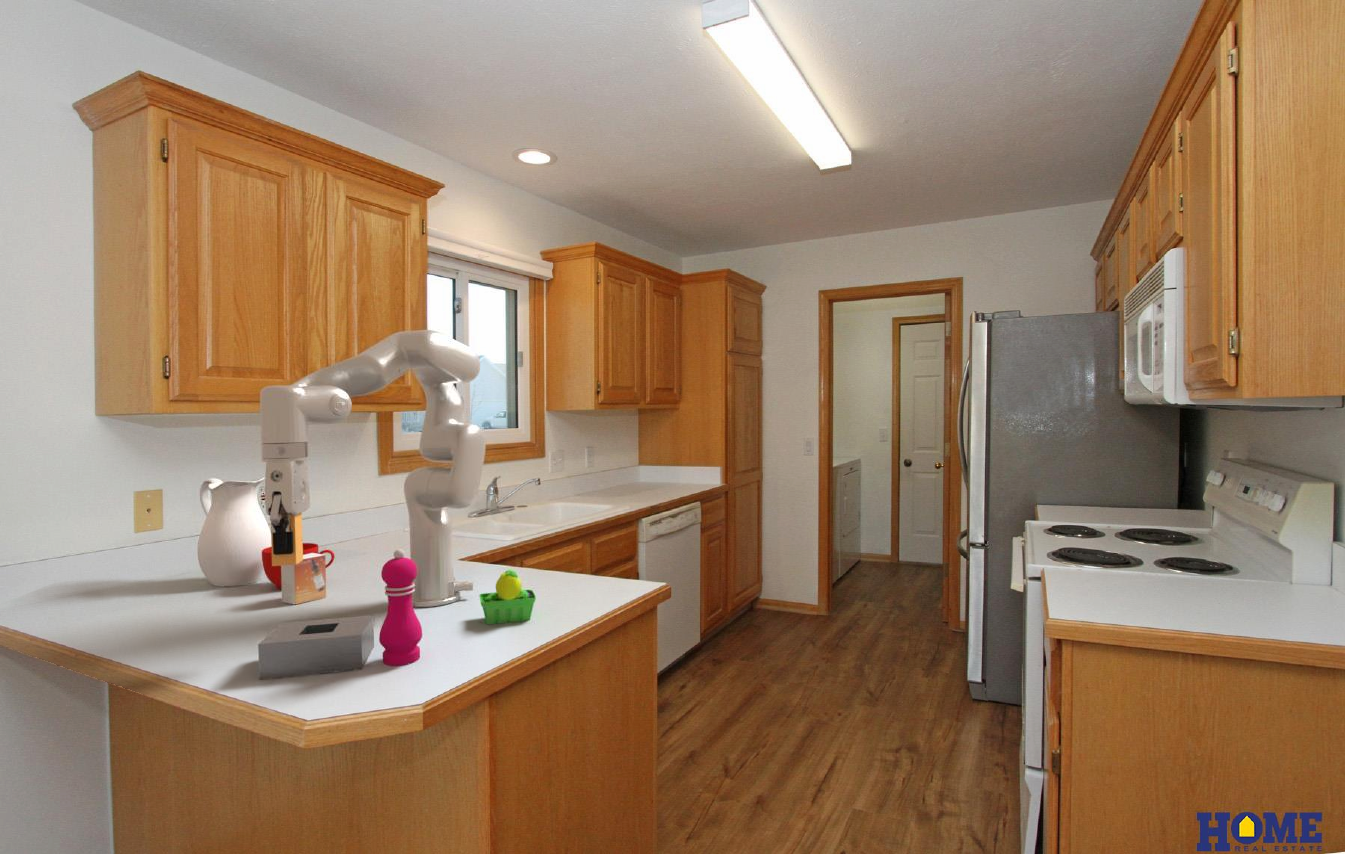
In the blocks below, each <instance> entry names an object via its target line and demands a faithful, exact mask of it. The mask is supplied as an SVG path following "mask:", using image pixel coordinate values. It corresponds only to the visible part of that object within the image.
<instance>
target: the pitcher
mask: <svg viewBox="0 0 1345 854" xmlns="http://www.w3.org/2000/svg"><path fill="white" fill-rule="evenodd" d="M263 482H265V476H264V477H262V478H261V479H258V480H254V481H245V480H244V481H243V480H242V481H241V480H228V481H224V482H223V481H222V479H219V478H215V477H214V478H213V477H212V478H211V477H210V478H207V479H205V480H204V481H203V482H202V484H201V485H200V488H199V501H200V504H201V507H202V510H203V512H204V513H205V516H206V518H205V520H204V523H203V526H202V528H201V530H200V534H199V537H198V543H197V561H198V565H199V567H200V570H201V572H202V574H203V575H204V577H205V578H206V579H207V581H208V582H209V583H210V584H211V585H212V586H213V585H214V587H217V586H231V587H238V586H245V584H246V585H249V583H250V584H254V583H256V582H258V581H260V580H261V579H262V578H263V576H264V575H265V571H264V568H263V562H262V550H263V549H265V548H268V547H272V546H271V528H270V527H269V525H268V522H267V520H266V517H265V515H264V513H263V512H262V509H261V507H260V504H259V501H258V491H259V489H260V486H261V485H262V484H263Z"/></svg>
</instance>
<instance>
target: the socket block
mask: <svg viewBox="0 0 1345 854" xmlns="http://www.w3.org/2000/svg"><path fill="white" fill-rule="evenodd" d="M374 620H375V619H374V615H362V616H361V615H359V616H349V617H338V618H337V617H336V618H326V619H314V620H313V619H312V620H301V621H300V620H299V621H289V622H279V623H278V624H277V625H276V626H275V627H274V628H273V629H272V630H271V631H270V632H269V633H268V634H267V635H266V636H265V637H264V638H262V640H261V641H260V642H259V643H258V645H257V648H258V649H257V650H258V678H259V679H258V680H260V681H261V680H270V679H278V678H279V677H281V678H289V677H299V676H301V677H302V676H310V675H309V674H311V675H319V674H320V675H321V674H329V672H330V673H339V672H348V671H358V670H363V669H364V667H365V665H366V663H367V661H368V659H369V658H368V657H370V655H371V653H372V652H373V650H374V648H375V630H374V628H375V627H374V625H375V623H374ZM371 651H372V652H371ZM279 679H280V678H279Z"/></svg>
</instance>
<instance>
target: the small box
mask: <svg viewBox="0 0 1345 854" xmlns="http://www.w3.org/2000/svg"><path fill="white" fill-rule="evenodd" d="M326 562H327V561H326V555H325V554H324V553H323V554H317V553H310V554H305V555H303V560H302V561H301V562H299V563H298V564H296V565H282V566H281V578H282V589H281V602H282V603H285V604H289V605H294V606H296V605H299V604H302V603H306V602H312V601H316V600H321V598H322V599H325V598H327V572H326V571H327V570H326V569H327V568H326V565H327V564H326ZM295 604H296V605H295Z"/></svg>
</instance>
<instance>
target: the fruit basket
mask: <svg viewBox="0 0 1345 854" xmlns="http://www.w3.org/2000/svg"><path fill="white" fill-rule="evenodd" d="M478 596H479V600H480V605H481V607H482V610H483V613H484V620H485V623H486V625H492V624H493V625H494V624H504V623H503V622H506V623H513V622H512V621H516V622H521V621H522V622H525V621H530V620H531V617H532V613H533V610H534V609H533V608H534V604H535V602H536V599H537V597H536V595H535V592H534V590H532V589H523V588H522V581H521V579H520V577H519V575H518V574H517V572H516V571H514V570H513V569H507V570H505V572H503V573H501V574H500V576H499V578H498V579H497V581H496V583H495V592H486V593H485V592H484V593H480V594H478ZM508 621H509V622H508Z"/></svg>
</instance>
